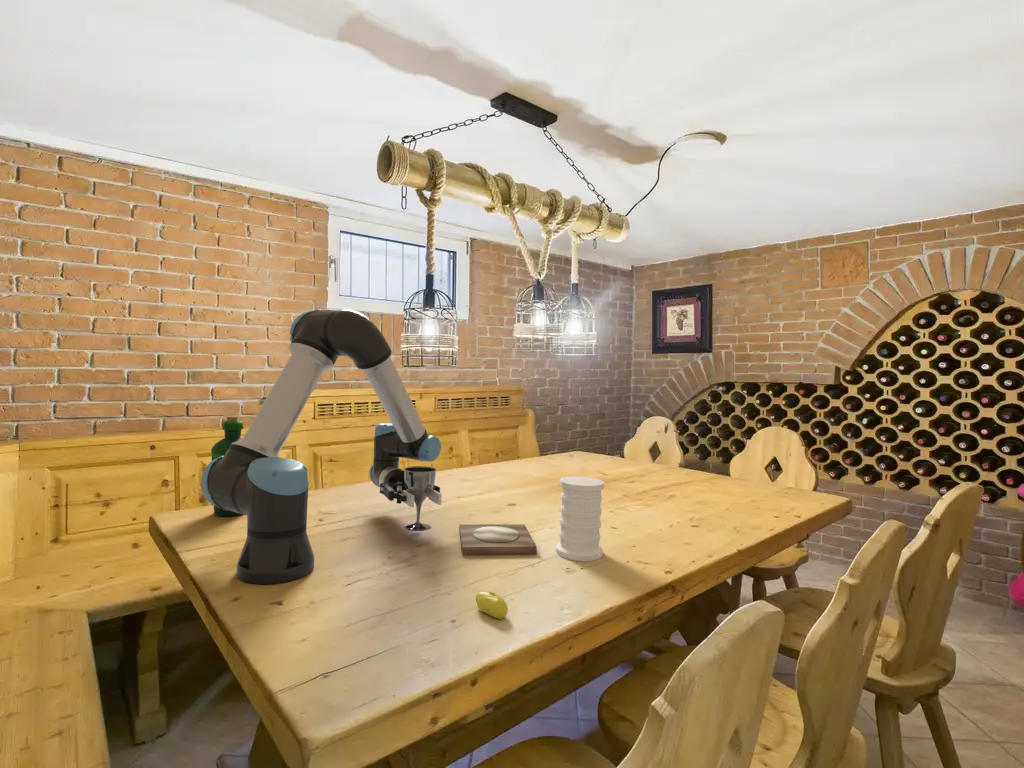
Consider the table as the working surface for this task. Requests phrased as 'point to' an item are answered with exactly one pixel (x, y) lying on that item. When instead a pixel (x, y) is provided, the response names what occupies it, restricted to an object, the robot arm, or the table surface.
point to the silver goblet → (419, 491)
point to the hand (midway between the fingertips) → (426, 500)
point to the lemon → (492, 604)
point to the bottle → (220, 448)
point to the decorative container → (580, 518)
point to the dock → (496, 539)
